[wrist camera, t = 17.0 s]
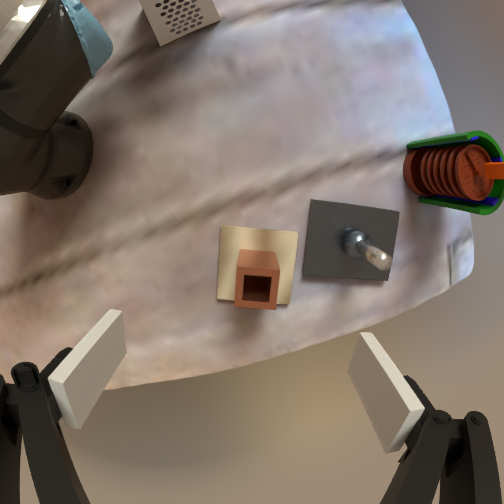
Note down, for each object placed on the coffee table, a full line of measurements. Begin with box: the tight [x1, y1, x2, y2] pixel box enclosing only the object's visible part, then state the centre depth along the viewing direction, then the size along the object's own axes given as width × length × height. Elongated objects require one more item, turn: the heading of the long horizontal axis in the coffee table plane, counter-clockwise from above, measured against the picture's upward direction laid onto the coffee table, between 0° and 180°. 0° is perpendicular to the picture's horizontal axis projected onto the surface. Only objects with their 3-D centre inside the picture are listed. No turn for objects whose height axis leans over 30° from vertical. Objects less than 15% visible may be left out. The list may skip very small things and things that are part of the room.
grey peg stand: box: [302, 199, 400, 281], centre depth 37 cm, size 14×11×12 cm
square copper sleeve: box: [234, 249, 280, 310], centre depth 39 cm, size 5×5×9 cm
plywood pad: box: [217, 226, 298, 304], centre depth 43 cm, size 11×11×1 cm
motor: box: [403, 131, 504, 215], centre depth 31 cm, size 10×9×20 cm
